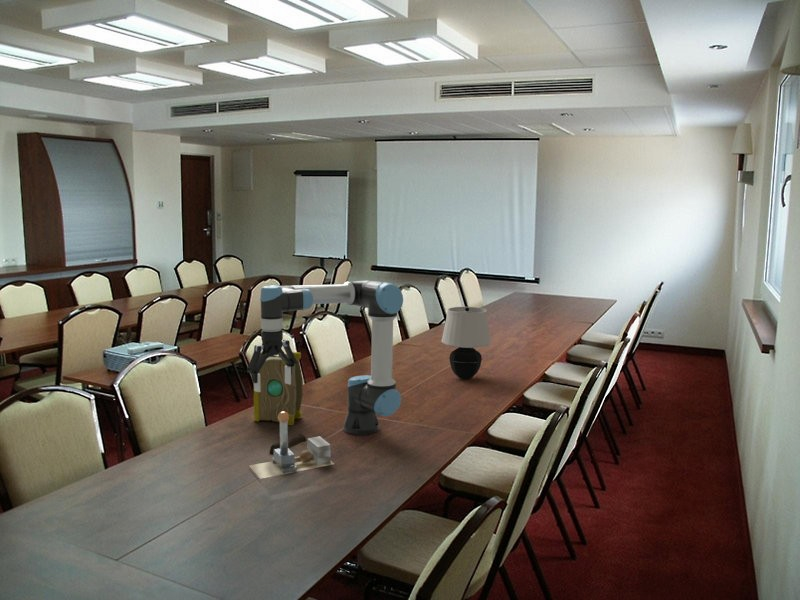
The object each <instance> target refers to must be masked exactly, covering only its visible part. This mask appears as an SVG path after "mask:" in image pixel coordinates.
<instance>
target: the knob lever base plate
mask: <svg viewBox="0 0 800 600" xmlns="http://www.w3.org/2000/svg"><path fill="white" fill-rule="evenodd" d="M306 443H307V444H306V445H307V446H306V447H307V449H306V450H307V451H309V452H310V453H311V454H312V458H311V460H310V461H307V462H302V461H301V460H300V455H299V456H295V465H292V466H296V467H297V470H296V471H291V472H286V473H283V472H282V468H285V467H282V468H281V467H280V466H279V465H278V464H277V463H276V462H272V460H271V461H266V462H261V463H260V462H259V463H256V464H251V465H249V467H250V468H249V469H248V470H249V472H250V473H251V474H252V475H253V476H254V477H255V478H256V480H257V481H258V482H259V483H260V484H261V483H262V482H261V480H262V479H266V478H272V477H277V476H283V475H287V474H292V473H298V472H302V471H307V470H312V469H316V468H322V467H327V466H332V465H335V462H333V460H331V458H332V456H331V444H330V443H329V442H328V441H327V440H325V439H324V438H322V436H320V435H319V436H314V437H308V438H307V437H306ZM287 467H290V466H287ZM252 471H253V472H252ZM254 473H255V474H254ZM259 479H260V480H259Z"/></svg>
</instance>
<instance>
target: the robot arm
mask: <svg viewBox="0 0 800 600" xmlns="http://www.w3.org/2000/svg"><path fill="white" fill-rule="evenodd" d="M259 296H260V298H259V301H260V327H261V331H260V332H261V334H260V336H261V342H262V343H261V345H258V344H255V345H254V348H253V353H252V356H251V359H250V362H249V364H248V367H247V369H246V372H247V373H249V374H251V380H252V381H251V382H252V383H253V392H254V391H256V392H261V390H260V374H259V371H260V369H261V368H262V366H263V364H264V363H265V361H266V359H267V358H269V356H273V355H275V356H280V358H281V359H282V360H283V361H284V362H285V364H286V365H287V366H285V383H286V384H289V385H290V384H291V375H292V367H294V364H296V363H297V361H296V359H295V356H294V354H293V350H292V347H291V345H290V343H291V342H290V340H287V339H284V338H283V337H284V335H283V333H284V330H283V329H284V325H283V323H284V320H283V314H284V312H285V313H286V312H295V311H305V310H309V309H311V308H312V306H313V305H323V304H328V305H329V304H344V305H346V306H358V307H363V308H366V309H367V312H368V314H367V315H368V318H370V319H371V356H370V357H371V358H370V359H371V360H370V361H371V363H370V365H371V366H370V375H368V374H367V375H366V374H365V375H356V376H351V377H350V378H349V379H348V380H347V386H346V387H347V412H346V416H345V419H344V422H343V431H344V433H346V434H347V433H348V434H351V435H355V436H366V435H373V434H375V433H378V431H379V430H380V423H379V418H378V417H377V416H381V417H390V416H392V415H393V414H395V413H396V411H397V410H399V408H400V406H401V404H402V395H401V393H400V392H399V391H398V390H397V382H396V380H395V379H394V378H393V356H394V355H393V353H394V351H393V348H394V347H393V345H394V320H395V319H396V318H397V317H398V312H399V311H400V310H401V308H402V307H403V304H404V295H403V293H402V290H401V288H399V287H398V286H397V285H395V283H394V284H393V283H390V282H389V281H387V282H386V281H379V280H374V279H365V280H355V281H354V280H353V281H345V282H344V283H340V284H338V283H337V284H307V285H306V284H304V285H303V284H302V285H301V284H300V285H299V284H298V285H279V284H271V285H265V286H262V287H261V288H260V295H259ZM282 347H283V348H282ZM283 349H284V350H283ZM284 351H285V352H284ZM261 352H262V353H261ZM284 353H285V354H287V356H288V357H287V356H286V355H285V354H284ZM265 354H266V355H265ZM260 355H261V356H260ZM259 357H260V358H259Z"/></svg>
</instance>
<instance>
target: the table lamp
mask: <svg viewBox="0 0 800 600" xmlns="http://www.w3.org/2000/svg"><path fill="white" fill-rule="evenodd" d="M487 313H488V310H487V309H486V308H481V307H475V306H454V307H453V306H452V307H449V308H447V313H446V319H445V323H444V327H443V332H442V337H441V340H440V341H441V343H442V344H443V345H446V346H448V347H454V348H455V349H454V350H452V351H451V352H450V354H449V358H448V359H449V365H450V368H451V370H452V372H453V373H454V375H455V376H456V377H458V379H460V380H465V381H469V380H470V379H472V378H473V377H475V376H476V375H477V374H478V372H479V370H480V368H481V365H482V360H483V357H482V354H481V353H480V351H478V350H477V349H478V348H483V347H489V346H490V345H491V344H492V341H491V335H490V328H489V321H488V314H487ZM476 348H477V349H476Z"/></svg>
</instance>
